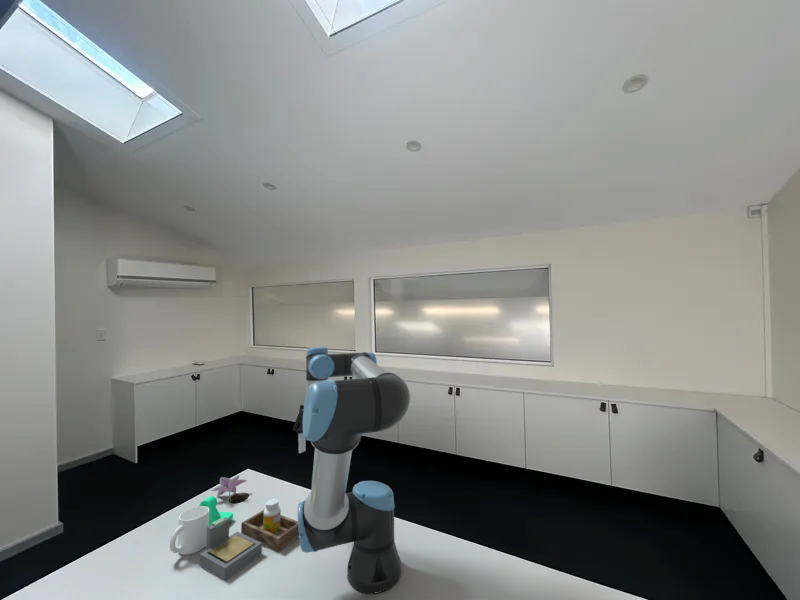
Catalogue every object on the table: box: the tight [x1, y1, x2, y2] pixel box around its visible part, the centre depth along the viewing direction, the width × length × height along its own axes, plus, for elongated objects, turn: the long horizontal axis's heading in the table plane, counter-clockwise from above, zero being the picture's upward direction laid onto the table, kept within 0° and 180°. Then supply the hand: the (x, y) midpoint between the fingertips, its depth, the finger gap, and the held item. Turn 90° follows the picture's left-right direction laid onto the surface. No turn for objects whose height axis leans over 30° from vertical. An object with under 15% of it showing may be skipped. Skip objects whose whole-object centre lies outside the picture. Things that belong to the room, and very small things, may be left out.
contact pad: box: [209, 535, 254, 564], centre depth 99 cm, size 9×9×2 cm
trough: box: [240, 508, 299, 553], centre depth 110 cm, size 18×10×4 cm, turn 61°
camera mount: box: [197, 495, 234, 526], centre depth 117 cm, size 12×8×10 cm, turn 84°
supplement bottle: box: [263, 498, 282, 535], centre depth 110 cm, size 5×5×10 cm
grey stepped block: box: [199, 517, 263, 581], centre depth 99 cm, size 14×12×9 cm
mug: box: [169, 505, 209, 556], centre depth 103 cm, size 12×8×10 cm
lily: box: [211, 475, 248, 503], centre depth 134 cm, size 12×12×10 cm
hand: (317, 454), depth 113 cm, fingers open, 13 cm apart
